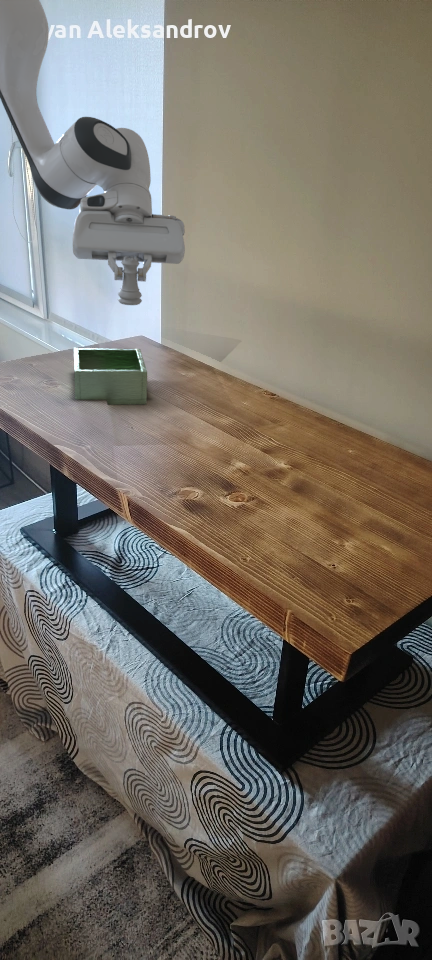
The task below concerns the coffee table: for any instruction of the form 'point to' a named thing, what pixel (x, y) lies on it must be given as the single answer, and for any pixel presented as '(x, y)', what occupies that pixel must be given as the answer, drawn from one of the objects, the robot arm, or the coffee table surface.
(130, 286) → the rook chess piece
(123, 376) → the green planter box
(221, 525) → the coffee table surface
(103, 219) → the robot arm
